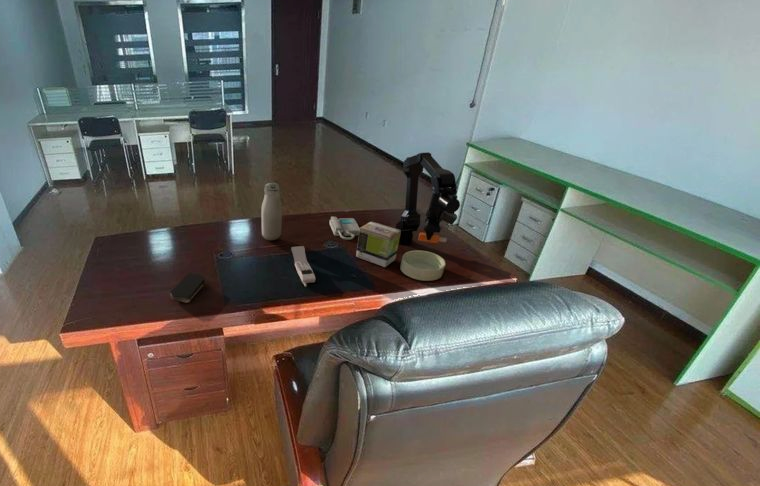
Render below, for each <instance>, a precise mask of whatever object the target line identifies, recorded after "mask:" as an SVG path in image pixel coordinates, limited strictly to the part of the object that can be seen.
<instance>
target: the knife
mask: <svg viewBox="0 0 760 486" xmlns="http://www.w3.org/2000/svg"><path fill="white" fill-rule="evenodd" d="M447 240H448V238H447V237H442V236H440V234H435V233H434V234H433V235H432V237H431V239H430V240H427V237H426V232H421V231H420V232H419V234H418V241H420V242H426V243H432V244H439V242H440V243H447Z"/></svg>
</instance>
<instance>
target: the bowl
mask: <svg viewBox="0 0 760 486" xmlns="http://www.w3.org/2000/svg"><path fill="white" fill-rule="evenodd" d="M445 268H446V260H445V259H444V258H443V257H442V256H440V255H438V254H436V253H434V252H431V251H428V250H427V251H426V250H419V249H418V250H409V251H407V252H405V253H403V255H402V258H401V261H400V266H399V269H400V271H401V272H402V273H403V274H404V275H405V276H407V277H409V278H411V279H414V280H417V281H423V282H424V281H425V282H430V281H436V280H439V279H441V278H442V276H444V275H443V274H444V271H445Z"/></svg>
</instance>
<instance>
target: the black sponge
mask: <svg viewBox="0 0 760 486" xmlns="http://www.w3.org/2000/svg"><path fill="white" fill-rule="evenodd" d="M205 277H206V276H205V275H202V274H197V273H192V272H191V273H190V272H189V273H186V274H185V275H184V277H182V279H180V281H179V282H178V283H177V284H176V285H175V286H174V288H172V289H171V290H170V291H169V294H170V295H169V296H170V298H171V299H172V300H174V301H178V302H182V303H185V304H187V303H190V302H191V301H192V299H194V297H195V296H196V295H197V293H199V291H201V289H202V288H203V287H204V286H205V285H206V278H205Z"/></svg>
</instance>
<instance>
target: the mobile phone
mask: <svg viewBox="0 0 760 486" xmlns="http://www.w3.org/2000/svg"><path fill="white" fill-rule="evenodd" d="M290 250H291V253H292V257H293V261H294V267H295V269H296V272H297V274H298V276H299V279H300V281H301V283H302V284H303V285H304V287H305V288H307V287H308V284H313V283H316V280H317V279H316V275H315V273H314V271H313V268H312V267H311V265H310V263H309V262H308V259H307V256H306V251H305V250H306V249H305V246H304V245H299V246H291V249H290Z"/></svg>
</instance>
